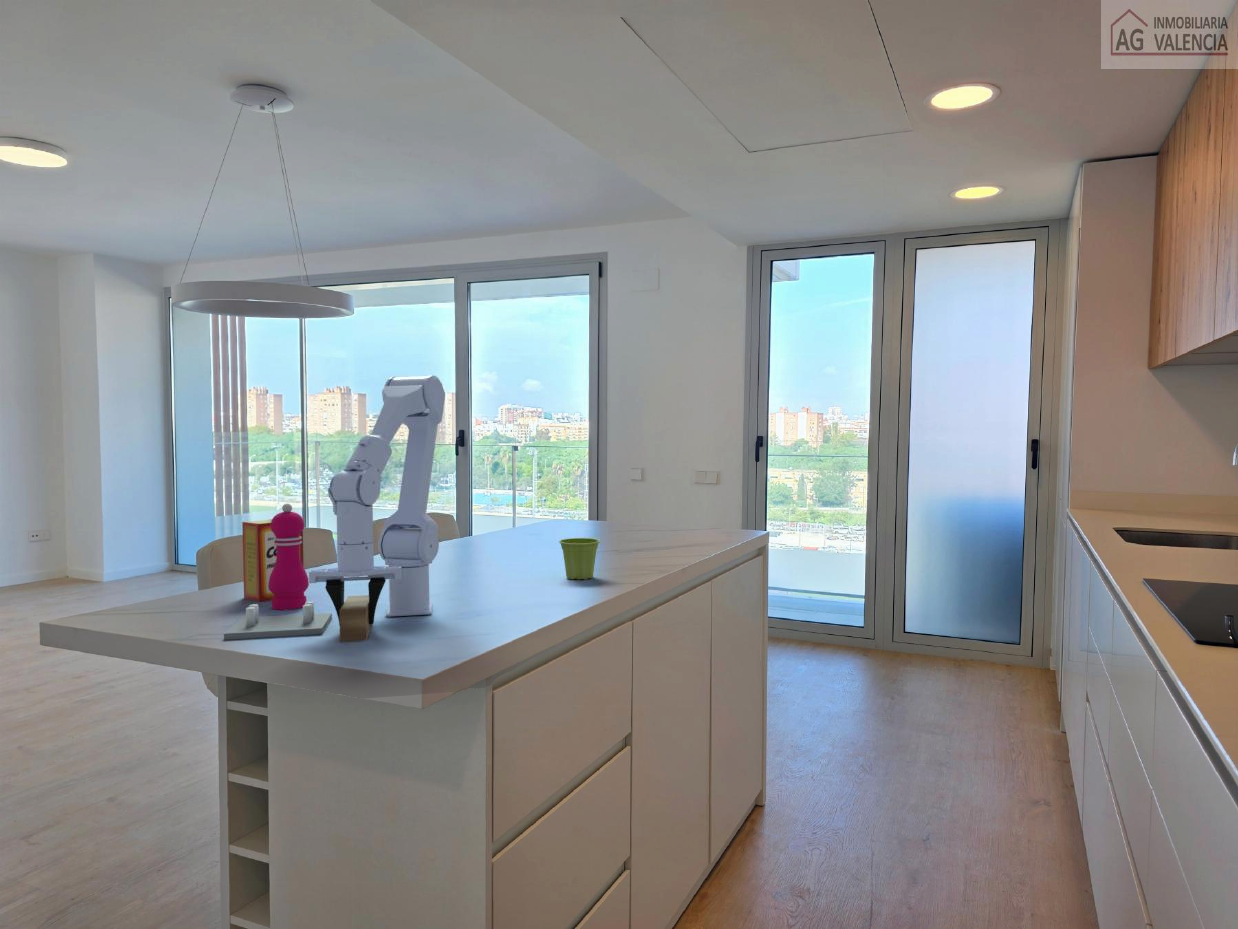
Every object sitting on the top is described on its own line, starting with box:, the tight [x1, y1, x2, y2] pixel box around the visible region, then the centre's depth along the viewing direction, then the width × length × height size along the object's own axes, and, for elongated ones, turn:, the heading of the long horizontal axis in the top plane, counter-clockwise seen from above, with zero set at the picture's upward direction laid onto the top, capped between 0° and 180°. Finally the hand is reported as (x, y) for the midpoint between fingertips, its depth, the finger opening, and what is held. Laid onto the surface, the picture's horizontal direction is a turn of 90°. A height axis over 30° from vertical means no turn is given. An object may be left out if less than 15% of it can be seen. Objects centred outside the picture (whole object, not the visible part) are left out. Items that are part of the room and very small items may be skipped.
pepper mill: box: [268, 503, 310, 611], centre depth 154 cm, size 7×7×20 cm
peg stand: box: [223, 601, 333, 641], centre depth 136 cm, size 12×15×4 cm
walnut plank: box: [339, 594, 373, 643], centre depth 133 cm, size 12×4×5 cm, turn 13°
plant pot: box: [558, 537, 601, 581], centre depth 183 cm, size 9×9×9 cm
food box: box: [241, 518, 305, 603], centre depth 164 cm, size 10×6×16 cm
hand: (356, 623), depth 133 cm, fingers closed on walnut plank, 4 cm apart
